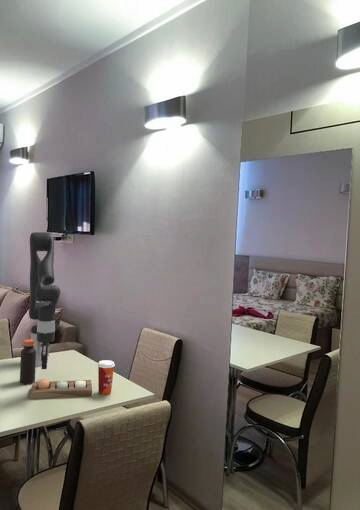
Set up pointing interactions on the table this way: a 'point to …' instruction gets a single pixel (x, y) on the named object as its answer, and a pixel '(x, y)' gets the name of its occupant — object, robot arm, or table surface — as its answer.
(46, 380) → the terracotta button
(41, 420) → the table surface
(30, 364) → the bottle
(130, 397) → the table surface
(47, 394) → the button board
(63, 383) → the sage button
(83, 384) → the cream button
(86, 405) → the table surface
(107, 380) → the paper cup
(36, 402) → the table surface
